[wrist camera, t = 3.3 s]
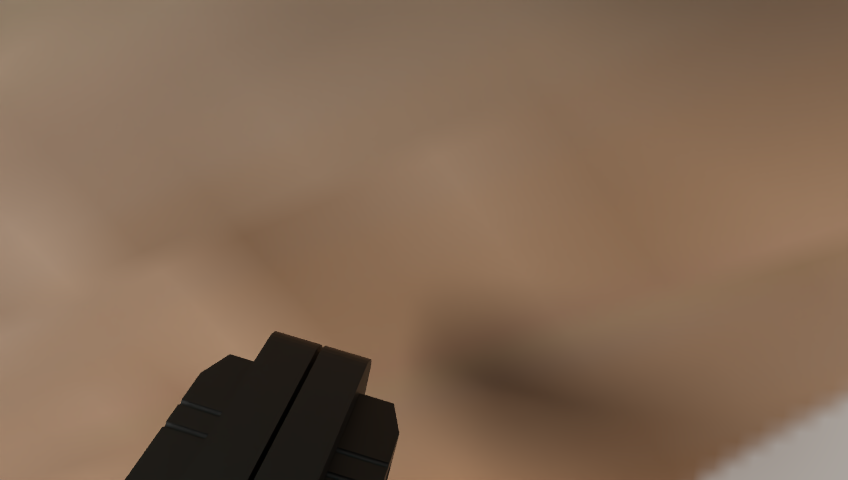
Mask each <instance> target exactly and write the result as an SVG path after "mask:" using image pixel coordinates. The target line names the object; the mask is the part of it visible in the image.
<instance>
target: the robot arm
mask: <svg viewBox="0 0 848 480" xmlns="http://www.w3.org/2000/svg"><path fill="white" fill-rule="evenodd" d="M370 368H371V359H368V358H365V357H361V356H358V355H355V354H351V353H348V352H345V351H341V350H338V349H335V348H331V347H328V346H324V347H323V348H322V345H320V344H317V343H314V342H310V341H307V340H304V339H300V338H297V337H294V336H290V335H287V334H284V333H280V332H277V331H275V332H273V333H272V334H271V336H270V337H269V339H268V340H267V342H266V343H265V345H264V347H263V348H262V350H261V351H260V353H259V354H258V356H257V358H256V359H255V361H250V360H247V359H244V358H241V357H237V356H234V355H231V354H230V355H228V356H226V357H225V358H223V359H222V360H220V361H219V362H217V363H215V364H214V365H212V366H211V367H209V368H208V369H206V370H204V371H203V372H201V373H200V374H199V376H198V377H197V379H196V380H195V382H194V383H193V384H192V386H191V387H190V389H189V390H188V391H187V393H186V394H185V396H184V397H183V398H182V401H181V404H180V405H178V406H177V407H176V408H175V410H174V411H173V413H172V414H171V415H170V417H169V418H168V420H167V421H166V425H165V427H162V428H161V429H160V431H159V432H158V434H157V435H156V437H155V438H154V439H153V441H152V442H151V444H150V445H149V446H148V448H147V449H146V451H145V452H144V453H143V455H142V456H141V458H140V459H139V461H138V462H137V463H136V465H135V466H134V468H133V469H132V470H131V472H130V473H129V475H128V476H127V477H126V479H125V480H387V478H388V475H389V471H390V467H391V463H392V459H393V455H394V451H395V448H396V444H397V440H398V436H399V430H398V424H397V419H396V413H395V408H394V404H393V403H390V402H387V401H383V400H380V399H377V398H373V397H370V396H367V395H365V391H366V386H367V382H368V377H369V372H370Z"/></svg>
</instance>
